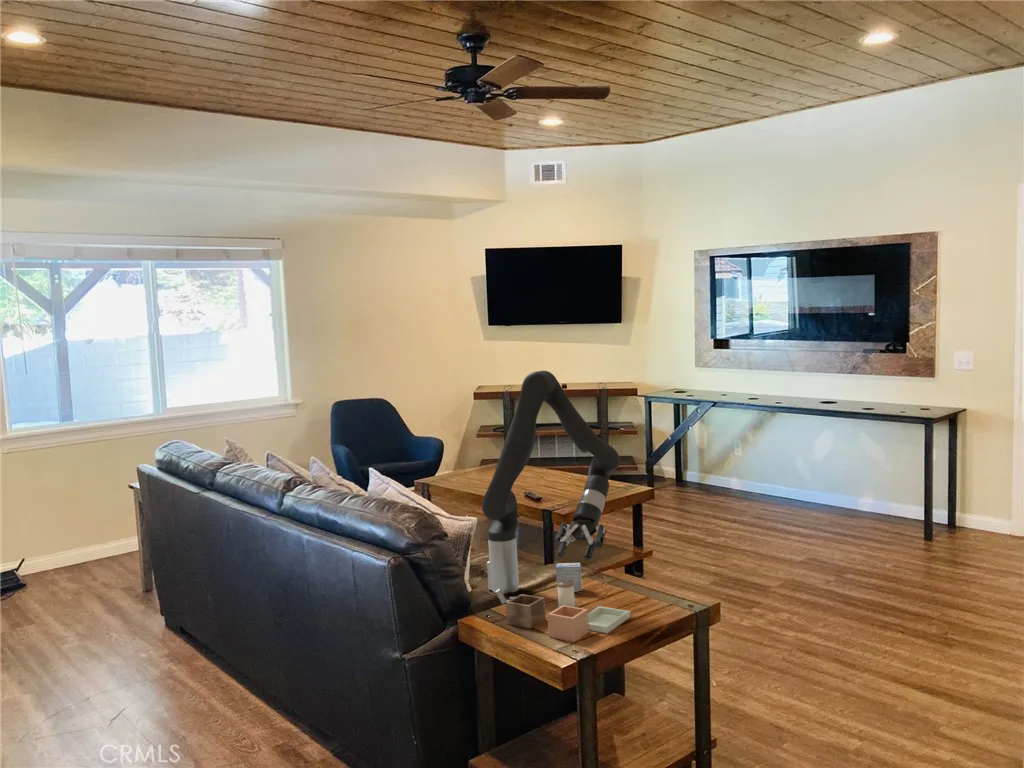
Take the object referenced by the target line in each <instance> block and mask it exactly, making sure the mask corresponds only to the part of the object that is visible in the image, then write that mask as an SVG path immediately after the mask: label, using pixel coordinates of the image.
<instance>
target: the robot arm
mask: <svg viewBox="0 0 1024 768" xmlns="http://www.w3.org/2000/svg"><path fill="white" fill-rule="evenodd" d="M563 389H564V388H562V386H561V384H560V382H559V381H558V380H557V378H556V376H555V375H554V374H553V373H552V372H551V371H548V370H537V371H532V372H531V373H530V372H529V374H527V375H526V376H525V377H524V379H523V382H522V384H521V388H520V393H519V397H518V401H517V402H518V403H517V406H516V409H515V412H514V414H513V415H514V416H513V418H512V421H511V424H510V427H509V429H508V432H507V435H506V438H505V440H504V443H503V446H502V449H501V453H500V456H499V458H498V461H497V465H496V468H495V470H494V474H493V477H492V478H491V481H490V482H489V485H488V487H487V489H486V491H485V493H484V496H483V498H482V501H481V509H482V510H481V511H482V513H483V515H484V516H485V518H487V519H488V520H490V521H492V522H491V525H490V527H489V529H488V530H487V541H488V542H487V543H488V544H487V545H488V557H489V560H487V562H486V567H487V568H486V569H487V585H488V590H489V589H490V590H492V591H493V592H492V591H491V592H492V593H494V594H496V590H497V589H499V588H500V589H501V591H502V593H503V595H505V594H509V593H515V592H517V591H519V590H520V583H519V582H520V580H519V566H518V565H519V563H518V548H517V530H518V525H519V524H518V523H519V522H518V521H519V520H518V519H519V518H518V517H519V514H518V512H519V511H518V510H519V509H518V500H517V497H516V494H514V492H513V491H512V488H513V487H514V484H515V482H516V480H517V478H518V477H519V476H520V474H521V473H522V471H524V469H525V467H526V465H527V464H528V462H529V460H530V458H531V454H532V452H533V449H534V446H535V444H536V443H535V442H536V439H537V438H536V435H537V431H536V430H537V418H538V415H539V413H540V410H541V408H542V406H543V403H544V402H545V403H546V404H548V406H550V408H552V411H554V413H555V414H556V416H557V418H558V419H559V422H560V424H561V426H562V428H563V430H564V432H565V434H567V437H569V439H570V440H571V441H572V442H573V444H574V445H575V446H576V447H577V449H578V450H579V451H580V452H582V453H584V454H585V453H589V454H591V455H592V456H593V457H594V458H593V459H592V461H591V462H590V465H589V468H588V473H587V479H586V482H585V485H584V488H583V490H582V493H581V495H580V496H579V499H578V503H577V505H576V508H575V510H574V514H573V516H572V517H573V518H572V522H570V524H567V523H566V522H564V521H563V522H562V523H561V525H560V526H559V528H558V531H557V534H556V535H555V540H556V541H557V543H558V544H559V545H558V548H557V555H558V556H559V557H560V558H564V557H565V553H566V550H567V547H568V545H570V543H573V542H575V540H576V541H587V542H588V544H587V546H586V548H585V552H584V559H585V560H586V561H589V560H591V559H592V558H593V555H594V551H595V549H597V548H602V547H603V545H604V543H605V542H604V541H605V538H606V533H607V529H606V527H604V525H603V524H600V525H599V523H600V521H601V517H602V515H603V511H604V508H605V504H606V499H607V496H608V493H609V490H610V481H609V480H610V477H611V475H612V474H613V472H615V470H617V468H618V467H619V466H620V464H621V458H620V455H619V454H618V451H616V449H615V448H614V447H613V446H612V445H610V444H609V443H607V442H606V440H604V439H603V438H601V437H599V435H597V434H596V432H595V431H594V430H593V429H592V427H591V426H590V425H589V424H588V423H587V422H586V420H585V419H584V418H583V417H582V416H581V414H580V413H579V412H578V410H577V409H576V408H575V406H574V404H572V402H571V401H570V398H569V397H568V396H567V394H566V393H565V391H564V390H563ZM595 534H596V537H595V539H594V537H593V535H595ZM571 535H572V536H571ZM490 590H489V591H490Z"/></svg>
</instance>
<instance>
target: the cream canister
mask: <svg viewBox="0 0 1024 768" xmlns="http://www.w3.org/2000/svg"><path fill="white" fill-rule="evenodd" d="M557 588H558V593H557V601H558V602H557V605H558V608H559V607H560V606H562V605H565V606H571V607H576V604H575V602H576V601H575V593H574V581H573V580H559V581H557V580H556V589H557Z"/></svg>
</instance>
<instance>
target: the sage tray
mask: <svg viewBox="0 0 1024 768" xmlns="http://www.w3.org/2000/svg"><path fill="white" fill-rule="evenodd" d="M630 618H631V611H630V610H626V609H618V608H613V607H607V606H601V605H599V606H597V607H595V608H594V609H592V610H590V611H588V619H589V632H590V631H592V632H597V633H601V634H602V633H603V634H609V633H610V632H612V631H613V630H614V629H616V628H617V627H619V626H620V625H621V624H623V623H624V622H625V621H627V620H628V619H630Z"/></svg>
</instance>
